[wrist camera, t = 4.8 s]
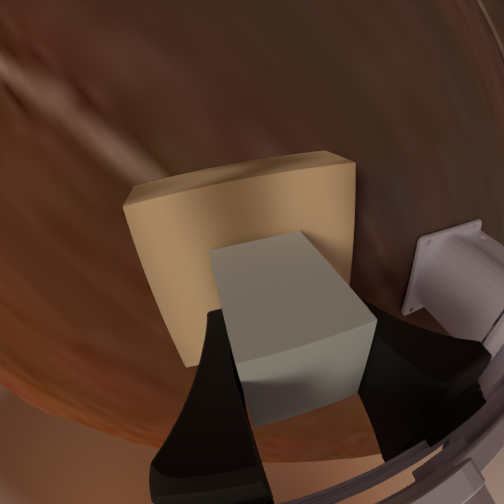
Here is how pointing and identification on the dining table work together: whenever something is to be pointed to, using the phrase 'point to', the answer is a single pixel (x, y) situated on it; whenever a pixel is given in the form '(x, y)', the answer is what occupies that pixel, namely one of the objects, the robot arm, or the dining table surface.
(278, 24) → the dining table surface
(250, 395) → the gray block
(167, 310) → the maple pedestal
